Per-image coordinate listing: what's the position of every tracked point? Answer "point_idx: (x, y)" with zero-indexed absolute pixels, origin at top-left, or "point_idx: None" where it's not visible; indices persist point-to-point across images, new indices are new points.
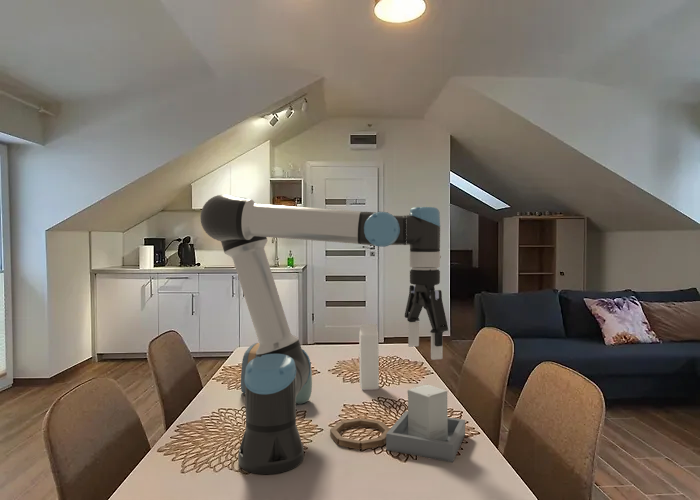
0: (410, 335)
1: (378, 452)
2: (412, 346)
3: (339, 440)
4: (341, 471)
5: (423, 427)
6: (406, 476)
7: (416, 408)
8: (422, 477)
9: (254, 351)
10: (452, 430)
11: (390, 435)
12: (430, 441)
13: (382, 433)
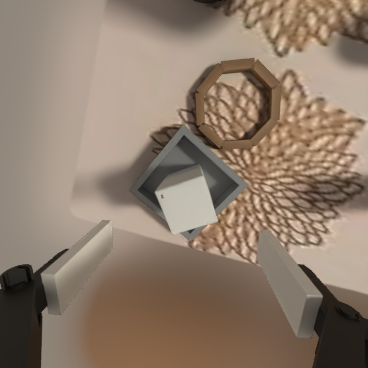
0: (275, 254)
1: (181, 114)
2: (259, 238)
3: (217, 64)
4: (148, 49)
5: (171, 176)
6: (119, 123)
7: (182, 176)
8: (114, 139)
9: None
10: None
11: (179, 129)
12: (145, 170)
13: (214, 132)
